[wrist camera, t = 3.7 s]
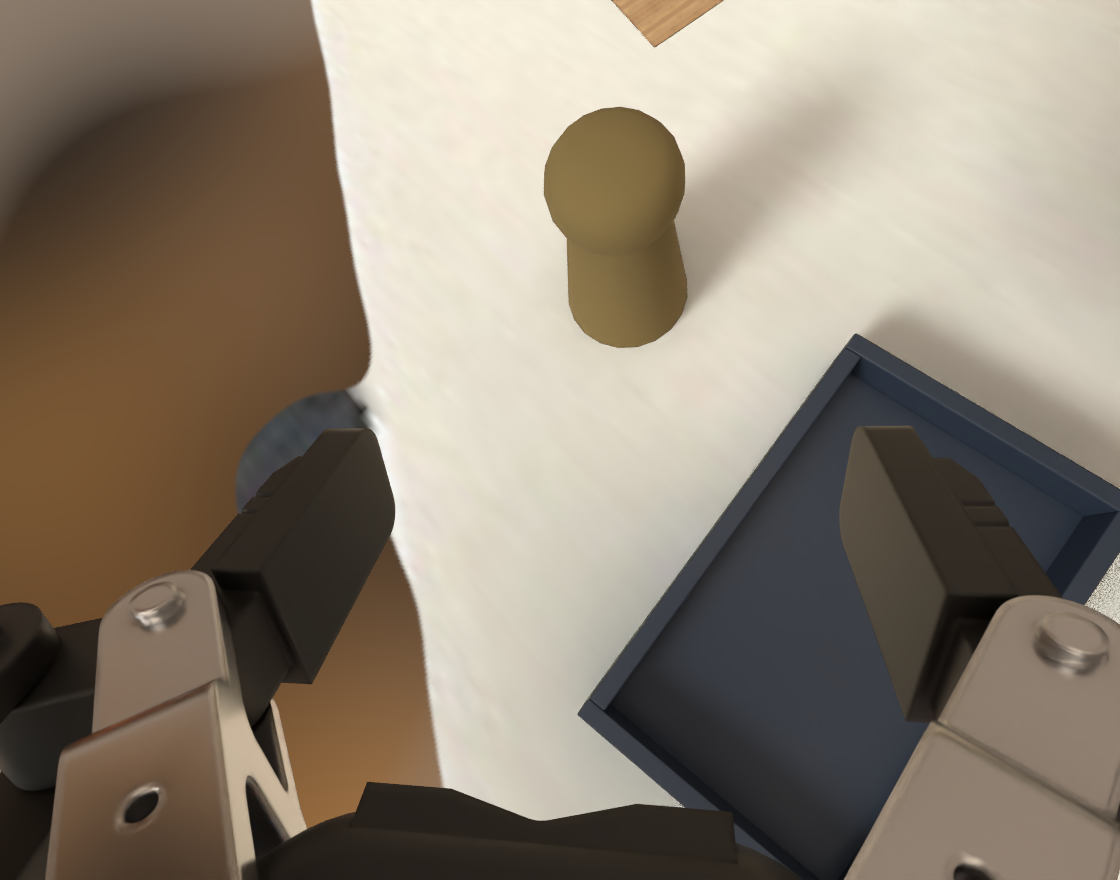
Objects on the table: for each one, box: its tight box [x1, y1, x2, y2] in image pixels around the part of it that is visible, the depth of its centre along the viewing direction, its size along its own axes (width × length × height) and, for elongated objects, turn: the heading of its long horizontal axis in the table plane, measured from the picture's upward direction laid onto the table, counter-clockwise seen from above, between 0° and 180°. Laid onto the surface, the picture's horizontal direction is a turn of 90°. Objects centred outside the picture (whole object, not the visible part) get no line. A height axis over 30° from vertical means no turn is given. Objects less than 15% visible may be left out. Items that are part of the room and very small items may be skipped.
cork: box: [544, 107, 687, 348], centre depth 27 cm, size 6×6×11 cm
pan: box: [578, 334, 1120, 880], centre depth 27 cm, size 20×13×3 cm, turn 142°
